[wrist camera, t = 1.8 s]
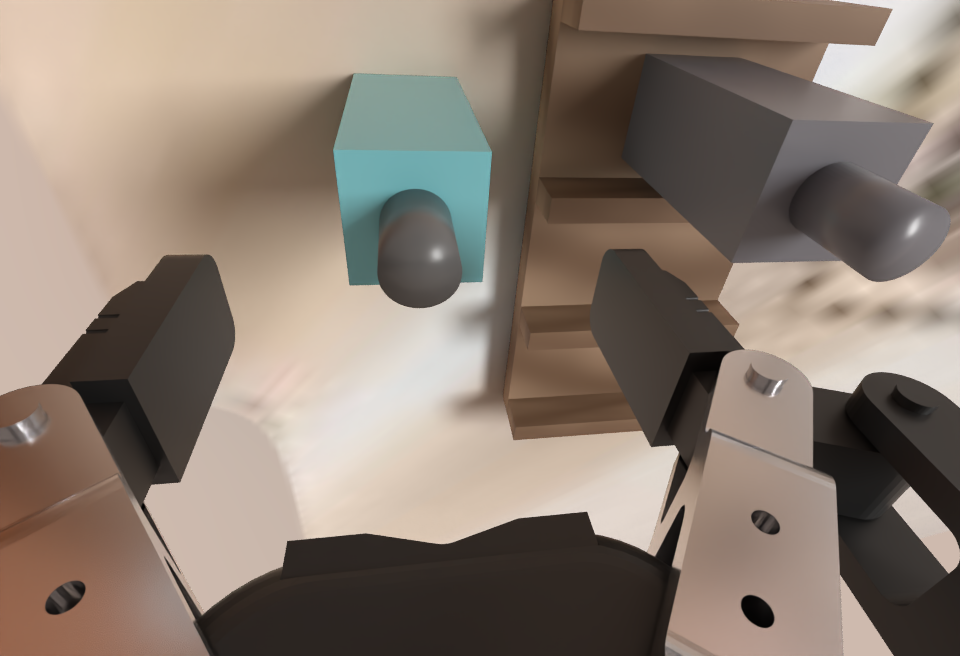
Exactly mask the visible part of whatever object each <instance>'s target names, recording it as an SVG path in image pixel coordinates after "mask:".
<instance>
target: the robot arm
mask: <svg viewBox="0 0 960 656" xmlns="http://www.w3.org/2000/svg"><path fill="white" fill-rule="evenodd" d="M98 316H99V317H98V319H94V321H93V322H92V323H91V324H90V326H89V327H88V328H87V329H86V334H82V335H81V337H80V338H79V339H78V340H77V342H76V343H75V344H74V345H73V347H72V348H71V349H70V350H69V351H68V353H67V354H66V355H65V356H64V358H63V359H62V360H61V361H60V362H59V364H58V365H57V366H56V367H55V369H54V370H53V371H52V372H51V374H50V375H49V376H48V377H47V379H46V380H45V381H44V382H43V383H42V385H35V386H29V387H25V388H21V389H17V390H14V391H11V392H8V393H6V394H3V395H1V396H0V656H843V637H842V612H841V590H840V575H841V577H842V578H843V580H844V581H845V582H846V584H847V586H848V587H849V588H850V590H851V592H852V593H853V594H854V596H855V598H856V599H857V601H858V602H859V604H860V605H861V607H862V608H863V610H864V611H865V613H866V614H867V616H868V617H869V619H870V620H871V622H872V623H873V625H874V626H875V628H876V629H877V631H878V632H879V634H880V636H881V637H882V639H883V640H884V642H885V643H886V645H887V646H888V648H889V649H890V651H891V652H892V654H893V655H894V656H960V561H959V564H958V566H957V567H956V568H955V569H954V570H953V571H952V572H950V573H949V574H948V573H947V571H946V570H945V569H944V568H943V566H942V565H941V564H940V563H939V562H938V561H937V559H936V558H935V557H934V556H933V554H932V553H931V552H930V551H929V550H928V548H927V547H926V546H925V545H924V544H923V542H922V541H921V540H920V539H919V538H918V536H917V535H916V534H915V533H914V532H913V531H912V529H911V528H910V527H909V526H908V525H907V523H906V522H905V521H904V520H903V519H902V517H901V516H900V515H899V514H898V513H897V511H896V510H895V509H894V508H893V507H892V504H893V503H894V502H895V501H896V500H897V499H898V498H899V497H900V496H901V495H902V494H903V493H904V492H905V491H906V490H907V489H908V488H909V487H910V486H911V487H912V489H913V490H914V491H915V492H916V493H917V494H918V495H919V496H920V497H921V498H922V500H923V501H924V502H925V503H926V504H927V505H928V506H929V507H930V508H931V510H932V511H933V512H934V513H935V514H936V515H937V516H938V517H939V518H940V519H941V521H942V522H943V523H944V524H945V525H946V526H947V527H948V528H949V530H950V531H951V532H952V533H953V535H954V536H955V538H956V540H957V542H958V545H959V549H960V408H959V407H958V406H957V405H956V404H954V403H953V402H952V401H951V400H950V399H948V398H947V397H946V396H944V395H943V394H941V393H940V392H938V391H937V390H935V389H933V388H931V387H930V386H928V385H926V384H924V383H921V382H919V381H917V380H914V379H912V378H909V377H906V376H902V375H898V374H893V373H886V372H877V373H871V374H869V375H867V376H865V377H864V378H863V380H862V381H861V383H860V384H859V385H858V387H857V388H856V390H855V391H854V392H853V394H851V393H845V392H839V391H834V390H828V389H822V388H816V387H812V386H811V383H810V382H809V380H808V379H807V377H806V376H805V375H804V374H803V373H802V372H801V371H800V370H798V369H797V368H796V367H794V366H793V365H792V364H790V363H788V362H787V361H785V360H783V359H781V358H779V357H776V356H774V355H771V354H768V353H765V352H761V351H756V350H745V349H744V348H743V347H742V346H741V345H740V344H739V342H738V341H737V340H736V339H735V338H734V337H733V336H732V335H731V333H730V332H729V331H728V330H727V329H726V328H725V327H724V326H723V324H722V323H721V322H720V321H719V320H718V319H717V318H716V317H715V315H714V314H713V313H712V312H709V309H708V308H707V306H706V305H705V304H704V303H703V302H702V301H701V300H698V296H697V295H696V294H695V293H694V292H693V291H692V289H691V288H690V287H689V286H688V285H687V284H686V283H685V282H684V281H682V280H680V279H679V278H677V277H675V276H674V275H672V274H671V273H669V272H667V271H666V270H662V269H661V268H660V267H659V266H658V265H657V264H656V262H655V261H654V260H653V259H652V258H651V257H650V255H649V254H648V253H647V252H646V251H645V250H644V249H609V250H607V251H606V252H605V254H604V256H603V258H602V262H601V266H600V270H599V275H598V279H597V283H596V287H595V292H594V296H593V300H592V304H591V309H590V327H591V331H592V334H593V337H594V339H595V341H596V342H597V344H598V346H599V348H600V350H601V352H602V354H603V356H604V358H605V360H606V362H607V363H608V365H609V367H610V369H611V371H612V373H613V375H614V377H615V379H616V381H617V383H618V385H619V386H620V388H621V390H622V392H623V394H624V396H625V398H626V400H627V402H628V404H629V406H630V407H631V409H632V411H633V413H634V415H635V417H636V419H637V421H638V423H639V425H640V427H641V428H642V430H643V432H644V434H645V436H646V438H647V440H648V442H649V444H650V446H651V447H657V446H669V445H675V446H676V448H677V450H678V451H679V454H678V456H677V458H676V460H675V463H674V465H673V469H672V472H671V475H670V479H669V482H668V486H667V489H666V493H665V496H664V499H663V503H662V506H661V510H660V513H659V517H658V520H657V523H656V527H655V530H654V534H653V537H652V540H651V543H650V546H649V548H648V551H647V552H645V551H643V550H641V549H639V548H637V547H635V546H632V545H630V544H627V543H625V542H622V541H620V540H616V539H612V538H609V537H605V536H601V535H595V533H594V530H593V528H592V525H591V522H590V519H589V516H588V513H587V512H580V513H570V514H560V515H550V516H540V517H529V518H519V519H516V520H513V521H510V522H508V523H505V524H502V525H499V526H497V527H494V528H491V529H489V530H486V531H483V532H480V533H478V534H475V535H472V536H469V537H467V538H464V539H461V540H459V541H456V542H453V543H449V544H434V543H427V542H420V541H414V540H407V539H400V538H393V537H386V536H380V535H373V534H356V535H346V536H335V537H325V538H315V539H305V540H295V541H287V547H286V553H285V557H284V563H283V567H281V568H278V569H276V570H273V571H270V572H268V573H266V574H264V575H262V576H260V577H258V578H256V579H254V580H251V581H250V582H248V583H246V584H245V585H243V586H241V587H240V588H238V589H236V590H235V591H233V592H231V593H230V594H229V595H227V596H226V597H225V598H223V599H222V600H221V601H219V602H218V603H217V604H215V605H214V606H212V607H211V608H210V609H209V610H208V611H207V612H206V613H204V611H203V609H202V608H201V606H200V604H199V602H198V601H197V599H196V597H195V595H194V594H193V592H192V590H191V588H190V586H189V585H188V583H187V581H186V579H185V577H184V575H183V573H182V571H181V569H180V568H179V566H178V564H177V562H176V560H175V558H174V556H173V554H172V553H171V551H170V549H169V547H168V545H167V543H166V541H165V539H164V537H163V536H162V534H161V532H160V530H159V528H158V526H157V524H156V522H155V521H154V519H153V517H152V515H151V513H150V511H149V509H148V508H147V506H146V505H145V503H144V499H145V497H146V495H147V493H148V490H149V488H150V486H151V485H152V484H166V483H178V482H180V481H181V479H182V476H183V474H184V471H185V469H186V466H187V464H188V461H189V459H190V456H191V454H192V451H193V449H194V446H195V444H196V441H197V438H198V436H199V434H200V431H201V429H202V426H203V423H204V421H205V419H206V416H207V414H208V411H209V409H210V406H211V404H212V401H213V399H214V396H215V394H216V391H217V389H218V386H219V384H220V381H221V379H222V376H223V374H224V371H225V369H226V366H227V364H228V361H229V359H230V356H231V354H232V351H233V348H234V342H235V327H234V321H233V317H232V314H231V311H230V308H229V304H228V301H227V298H226V294H225V291H224V288H223V284H222V281H221V278H220V274H219V271H218V268H217V265H216V263H215V261H214V259H213V258H212V256H210V255H166V256H164V257H163V258H162V259H161V260H160V262H159V263H158V264H157V266H156V267H155V268H154V270H153V271H152V272H151V274H150V275H149V276H148V278H147V279H146V280H145V281H137V282H135V283H134V284H132V285H131V286H129V287H128V288H126V289H124V290H123V291H121V292H120V293H118V294H117V295H115V296H113V297H112V298H111V300H110V301H109V302H108V303H107V305H106V306H105V307H104V308H103V310H102V311H101V312H100V313H99V314H98Z"/></svg>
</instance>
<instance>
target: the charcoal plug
mask: <svg viewBox="0 0 960 656" xmlns="http://www.w3.org/2000/svg"><path fill="white" fill-rule="evenodd" d="M933 124H934V123H931V122H928V121H925V120H922V119H919V118H916V117H913V116H910V115H907V114H904V113H901V112H899V111H896V110H893V109H890V108H887V107H884V106H881V105H878V104H875V103H872V102H869V101H866V100H863V99H860V98H858V97H855V96H852V95H849V94H846V93H843V92H840V91H837V90H834V89H831V88H828V87H825V86H822V85H820V84H817V83H814V82H811V81H808V80H805V79H802V78H799V77H796V76H793V75H790V74H787V73H784V72H781V71H779V70H776V69H773V68H770V67H767V66H764V65H761V64H758V63H755V62H752V61H749V60H746V59H743V58H736V57H714V56H693V55H671V54H649V53H646V56H645V60H644V64H643V68H642V73H641V77H640V81H639V85H638V89H637V94H636V98H635V102H634V106H633V111H632V115H631V119H630V123H629V127H628V132H627V136H626V140H625V144H624V149H623V153H622V157H621V158H622V159H623V160H624V161H625V162H626V163H627V164H628V165H629V166H630V167H632V168H633V169H634V170H635V171H636V172H637V173H638V174H639V175H640V176H641V177H642V178H643V179H644V180H645V181H646V182H647V183H648V184H649V185H650V186H651V187H652V188H654V189H655V190H656V191H657V192H658V193H659V194H660V195H661V196H662V197H663V198H664V199H665V200H666V201H667V202H668V203H669V204H670V205H671V206H672V207H673V208H674V209H676V210H677V211H678V212H679V213H680V214H681V215H682V216H683V217H684V218H685V219H686V220H687V221H688V222H689V223H690V224H691V225H692V226H693V227H694V228H695V229H696V230H697V231H699V232H700V233H701V234H702V235H703V236H704V237H705V238H706V239H707V240H708V241H709V242H710V243H711V244H712V245H713V246H714V247H715V248H716V249H717V250H718V251H719V252H721V253H722V254H723V255H724V256H725V257H726V258H727V259H728V260H729V261H730V262H731V263H752V262H799V261H843V262H844V263H846V264H847V265H848V266H850V267H851V268H853V269H854V270H855V271H857V272H858V273H860V274H861V275H862V276H864V277H865V278H867V279H868V280H871V281H875V282H883V281H889V280H893V279H896V278H899V277H901V276H903V275H906V274H908V273H909V272H911V271H913V270H914V269H916V268H917V267H919V266H920V265H922V264H923V263H924V262H925V261H926V260H928V259H929V258H930V257H931V256H932V255H933V254H934V253H935V252H936V251H937V249H938V248H939V247H940V246H941V244H942V243H943V241H944V239H945V238H946V236H947V233H948V231H949V228H950V215H949V213H948V211H947V210H946V209H945V208H943V207H941V206H939V205H937V204H935V203H933V202H931V201H929V200H927V199H925V198H923V197H921V196H919V195H917V194H915V193H913V192H911V191H909V190H906V189H904V188H902V187H900V186H898V185H897V184H898V182H899V180H900V179H901V177H902V175H903V174H904V172H905V170H906V169H907V167H908V165H909V164H910V162H911V160H912V159H913V157H914V155H915V154H916V152H917V150H918V149H919V147H920V145H921V144H922V142H923V140H924V139H925V137H926V135H927V134H928V132H929V130H930V129H931V127H932V125H933Z"/></svg>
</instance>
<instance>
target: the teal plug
mask: <svg viewBox="0 0 960 656" xmlns="http://www.w3.org/2000/svg"><path fill="white" fill-rule="evenodd" d="M333 153H334V161H335V170H336V178H337V186H338V194H339V202H340V211H341V219H342V227H343V235H344V243H345V251H346V260H347V268H348V276H349V284H350V285H380V286H381V288H382V290H383V291H384V292H385V294H386V295H387V296H388V297H389V298H391V299H392V300H393V301H395V302H397V303H399V304H401V305H404V306H407V307H412V308H427V307H432V306H435V305H438V304H440V303H442V302H444V301H446V300H447V299H448V298H450V297H451V296H452V295H453V294H454V292H455V291H456V290H457V288H458V287H459V284H460V283H461V282H482V279H483V266H484V252H485V239H486V226H487V212H488V199H489V185H490V172H491V158H492V151H491V149H490V147H489V145H488V142H487V140H486V138H485V136H484V134H483V132H482V130H481V128H480V126H479V123H478V121H477V119H476V117H475V115H474V113H473V111H472V109H471V107H470V104H469V102H468V100H467V98H466V96H465V94H464V92H463V90H462V88H461V85H460V83H459V81H458V79H457V77H440V76H412V75H384V74H356V73H354V75H353V79H352V83H351V86H350V90H349V94H348V97H347V101H346V104H345V108H344V112H343V115H342V119H341V123H340V126H339V130H338V134H337V137H336V141H335V145H334V148H333Z"/></svg>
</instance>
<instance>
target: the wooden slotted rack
mask: <svg viewBox="0 0 960 656" xmlns="http://www.w3.org/2000/svg"><path fill="white" fill-rule="evenodd" d="M891 11H892V9H889V8H882V7H874V6H867V5H860V4H853V3H846V2H839V1H832V0H553V5H552V13H551V21H550V29H549V36H548V44H547V52H546V60H545V68H544V76H543V84H542V92H541V100H540V108H539V116H538V123H537V131H536V139H535V147H534V155H533V163H532V171H531V179H530V187H529V195H528V202H527V210H526V218H525V226H524V234H523V242H522V250H521V258H520V266H519V274H518V281H517V289H516V297H515V305H514V313H513V321H512V329H511V337H510V345H509V353H508V360H507V368H506V376H505V384H504V392H503V398H504V402H505V406H506V411H507V415H508V419H509V423H510V427H511V431H512V435H513V439H514V440H522V439H535V438H549V437H562V436H576V435H589V434H603V433H616V432H630V431H643V430H642V428H641V427H640V425H639V423H638V421H637V419H636V417H635V415H634V413H633V411H632V409H631V407H630V406H629V404H628V402H627V400H626V398H625V396H624V394H623V392H622V390H621V388H620V386H619V385H618V383H617V381H616V379H615V377H614V375H613V373H612V371H611V369H610V367H609V365H608V363H607V362H606V360H605V358H604V356H603V354H602V352H601V350H600V348H599V346H598V344H597V342H596V341H595V339H594V337H593V334H592V331H591V327H590V309H591V304H592V300H593V296H594V292H595V287H596V283H597V279H598V275H599V270H600V266H601V262H602V258H603V256H604V254H605V252H606V251H607V250H609V249H644V250H645V251H646V252H647V253H648V254H649V255H650V257H651V258H652V259H653V260H654V261H655V262H656V264H657V265H658V266H659V267H660V268H661V269H662V270H666V271H667V272H669V273H671V274H672V275H674V276H675V277H677V278H679V279H680V280H682V281H684V282H685V283H686V284H687V285H688V286H689V287H690V288H691V289H692V291H693V292H694V293H695V294H696V295H697V296H698V300H701V301H702V302H703V303H704V304H705V305H706V306H707V308H708V309H709V312H712V313H713V314H714V315H715V317H716V318H717V319H718V320H719V321H720V322H721V323H722V324H723V326H724V327H725V328H726V329H727V330H728V331H729V332H730V333H731V335H732V336H733V337H734V335H735V333H736V331H737V328H738V326H739V324H738V322H737V321H736V320H735V319H734V318H733V317H732V316H731V315H730V314H729V312H728V311H727V310H726V309H725V308H724V307H723V306H722V305H721V304H720V302H719V301H718V297H719V295H720V293H721V290H722V288H723V286H724V284H725V281H726V279H727V277H728V274H729V272H730V270H731V267H732V265H733V263H731V262H730V261H729V260H728V259H727V258H726V257H725V256H724V255H723V254H722V253H721V252H719V251H718V250H717V249H716V248H715V247H714V246H713V245H712V244H711V243H710V242H709V241H708V240H707V239H706V238H705V237H704V236H703V235H702V234H701V233H700V232H699V231H697V230H696V229H695V228H694V227H693V226H692V225H691V224H690V223H689V222H688V221H687V220H686V219H685V218H684V217H683V216H682V215H681V214H680V213H679V212H678V211H677V210H676V209H674V208H673V207H672V206H671V205H670V204H669V203H668V202H667V201H666V200H665V199H664V198H663V197H662V196H661V195H660V194H659V193H658V192H657V191H656V190H655V189H654V188H652V187H651V186H650V185H649V184H648V183H647V182H646V181H645V180H644V179H643V178H642V177H641V176H640V175H639V174H638V173H637V172H636V171H635V170H634V169H633V168H632V167H630V166H629V165H628V164H627V163H626V162H625V161H624V160H623V159H622V158H621V157H622V153H623V149H624V144H625V140H626V136H627V132H628V127H629V123H630V119H631V115H632V111H633V106H634V102H635V98H636V94H637V89H638V85H639V81H640V77H641V73H642V68H643V64H644V60H645V56H646V53H649V54H671V55H693V56H714V57H736V58H743V59H746V60H749V61H752V62H755V63H758V64H761V65H764V66H767V67H770V68H773V69H776V70H779V71H781V72H784V73H787V74H790V75H793V76H796V77H799V78H802V79H805V80H808V81H811V82H812V81H813V78H814V76H815V74H816V71H817V69H818V67H819V65H820V62H821V60H822V58H823V55H824V53H825V51H826V48H827V46H828V44H829V43H833V44H852V45H871V46H875V44H876V42H877V40H878V38H879V36H880V34H881V32H882V30H883V28H884V26H885V24H886V22H887V20H888V17H889V15H890V13H891Z"/></svg>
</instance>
